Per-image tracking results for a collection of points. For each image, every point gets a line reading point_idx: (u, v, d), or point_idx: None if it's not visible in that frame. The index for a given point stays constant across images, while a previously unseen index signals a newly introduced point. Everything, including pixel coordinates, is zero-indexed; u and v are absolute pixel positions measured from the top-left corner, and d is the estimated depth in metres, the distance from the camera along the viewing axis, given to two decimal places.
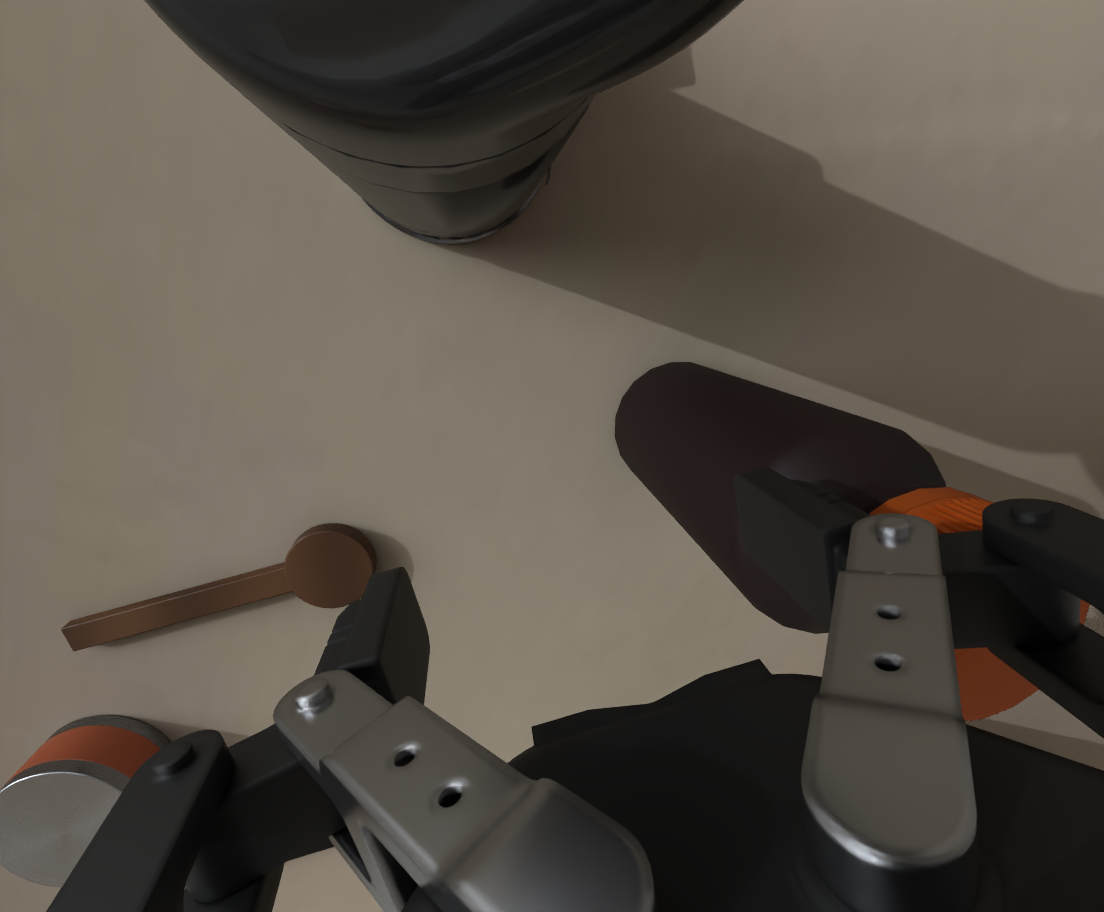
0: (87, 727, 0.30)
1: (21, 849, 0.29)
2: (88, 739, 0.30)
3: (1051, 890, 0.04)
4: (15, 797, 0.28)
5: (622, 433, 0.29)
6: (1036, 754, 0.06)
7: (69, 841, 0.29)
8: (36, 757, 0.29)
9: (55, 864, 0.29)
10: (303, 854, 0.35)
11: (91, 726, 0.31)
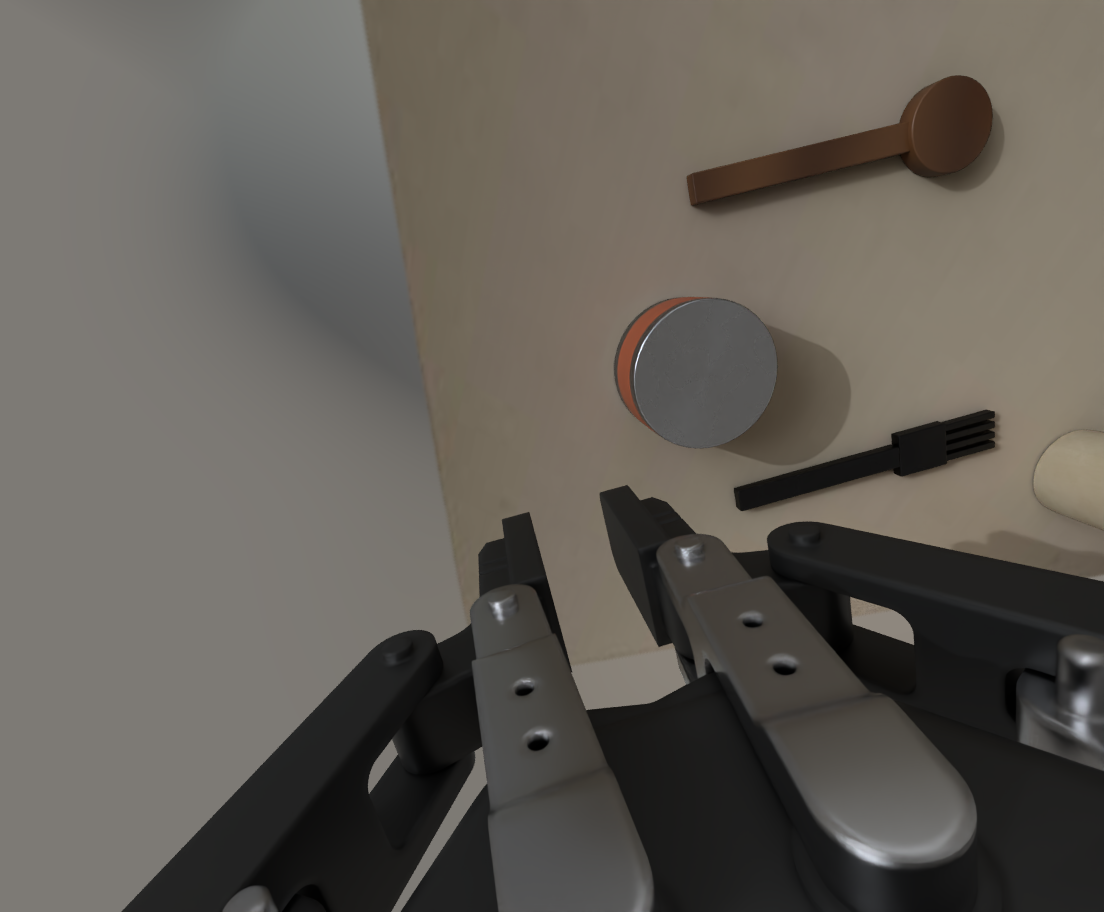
0: None
1: (663, 392, 0.28)
2: None
3: (1051, 890, 0.04)
4: (677, 324, 0.27)
5: None
6: (1036, 754, 0.06)
7: (707, 388, 0.28)
8: (669, 304, 0.28)
9: (688, 416, 0.28)
10: (833, 483, 0.34)
11: None
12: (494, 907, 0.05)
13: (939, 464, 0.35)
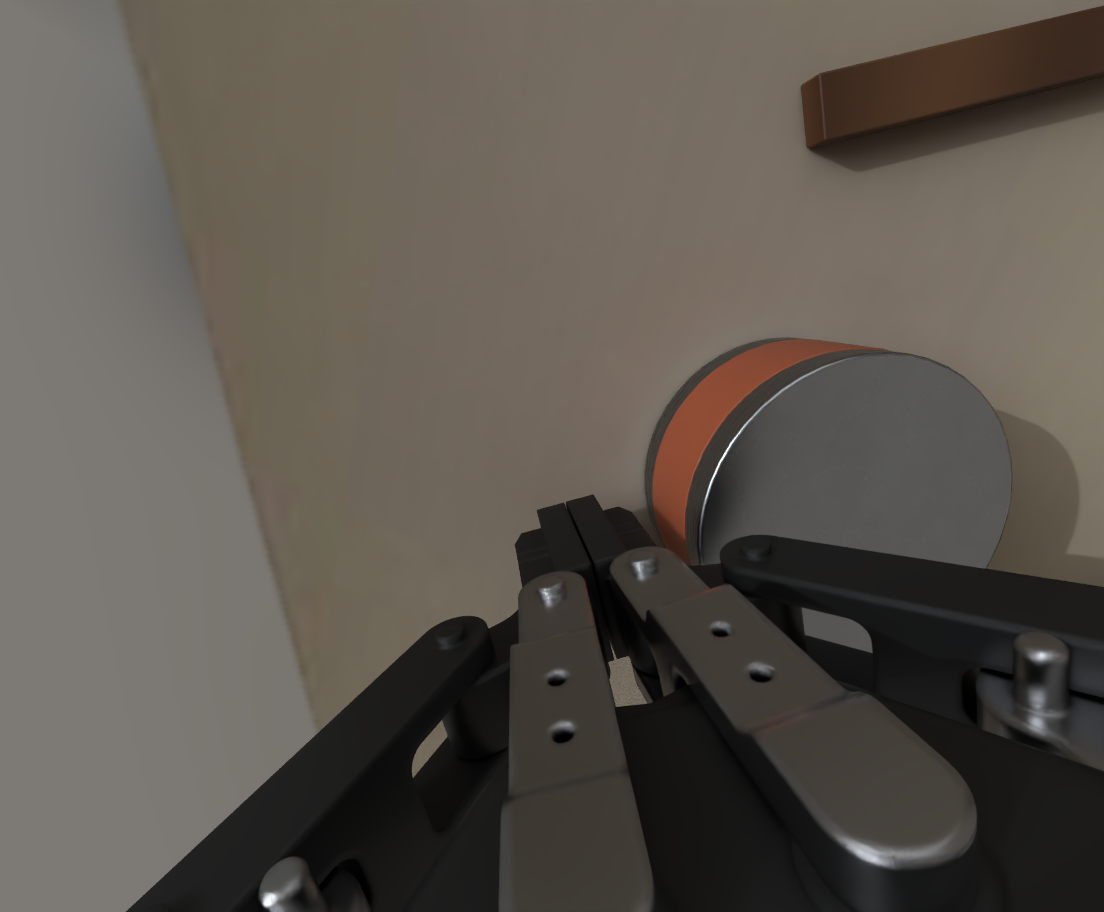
0: (802, 339, 0.14)
1: None
2: None
3: (1051, 889, 0.04)
4: (801, 414, 0.11)
5: None
6: (1036, 754, 0.06)
7: (859, 547, 0.13)
8: (771, 361, 0.13)
9: None
10: None
11: (805, 339, 0.14)
12: (494, 907, 0.05)
13: None
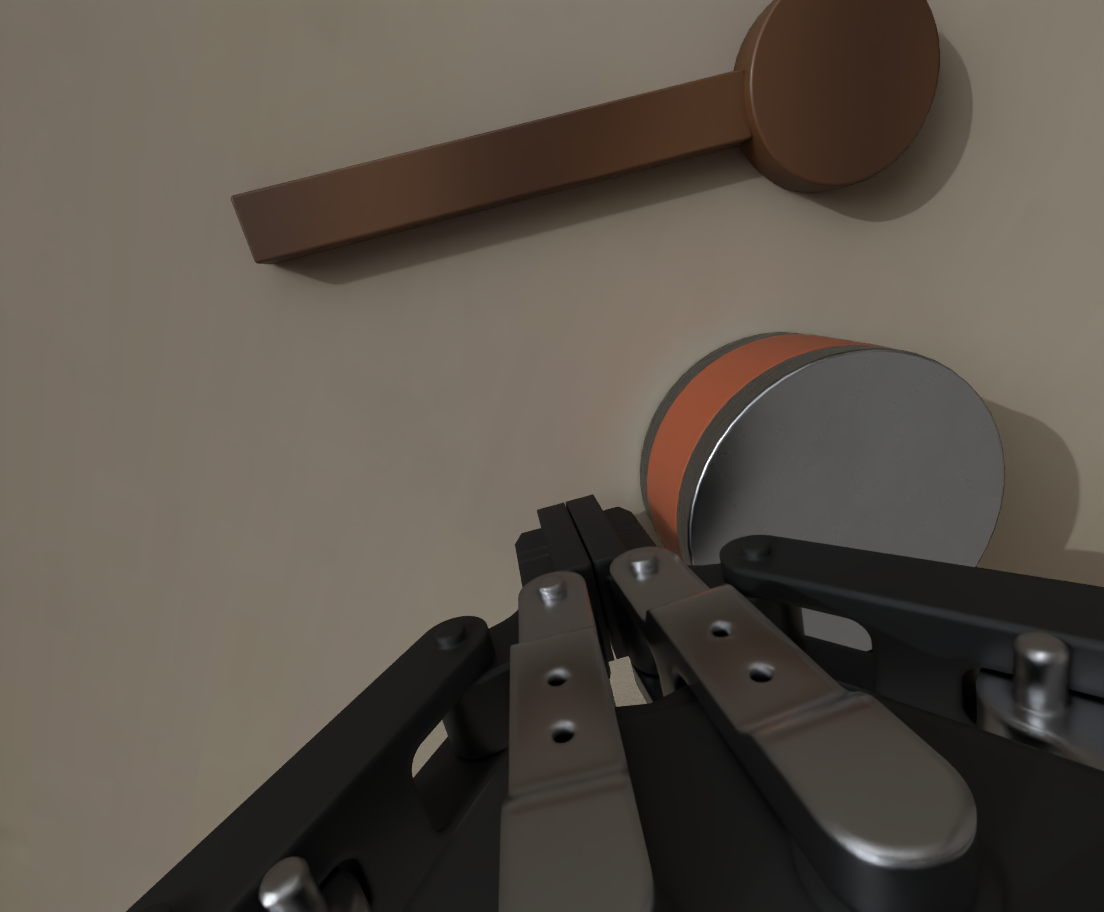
0: (793, 334, 0.14)
1: None
2: (834, 339, 0.14)
3: (1051, 889, 0.04)
4: (787, 413, 0.12)
5: None
6: (1036, 754, 0.06)
7: (850, 542, 0.13)
8: (759, 359, 0.13)
9: None
10: None
11: (796, 334, 0.14)
12: (494, 907, 0.05)
13: None
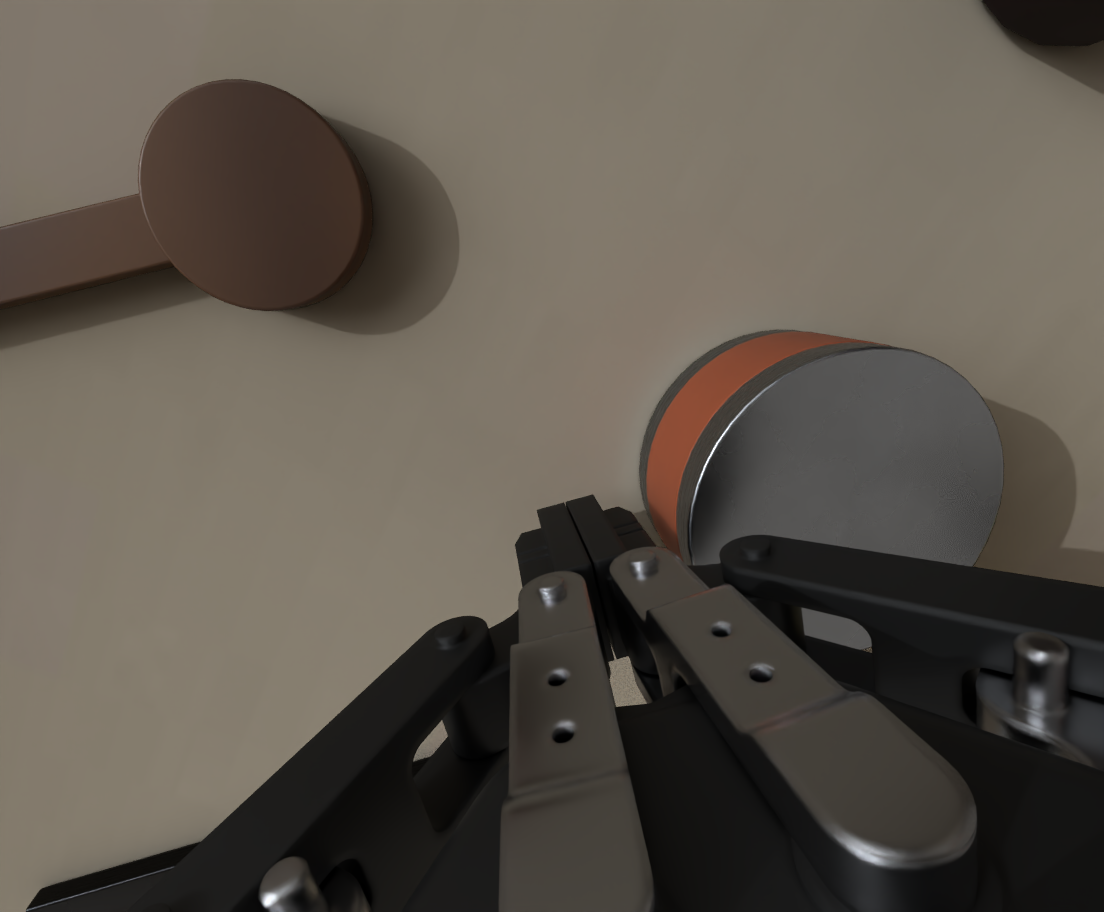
0: (790, 332, 0.14)
1: None
2: (831, 336, 0.13)
3: (1051, 890, 0.04)
4: (786, 412, 0.12)
5: None
6: (1036, 754, 0.06)
7: (850, 540, 0.13)
8: (757, 358, 0.13)
9: None
10: None
11: (794, 331, 0.14)
12: (494, 907, 0.05)
13: None
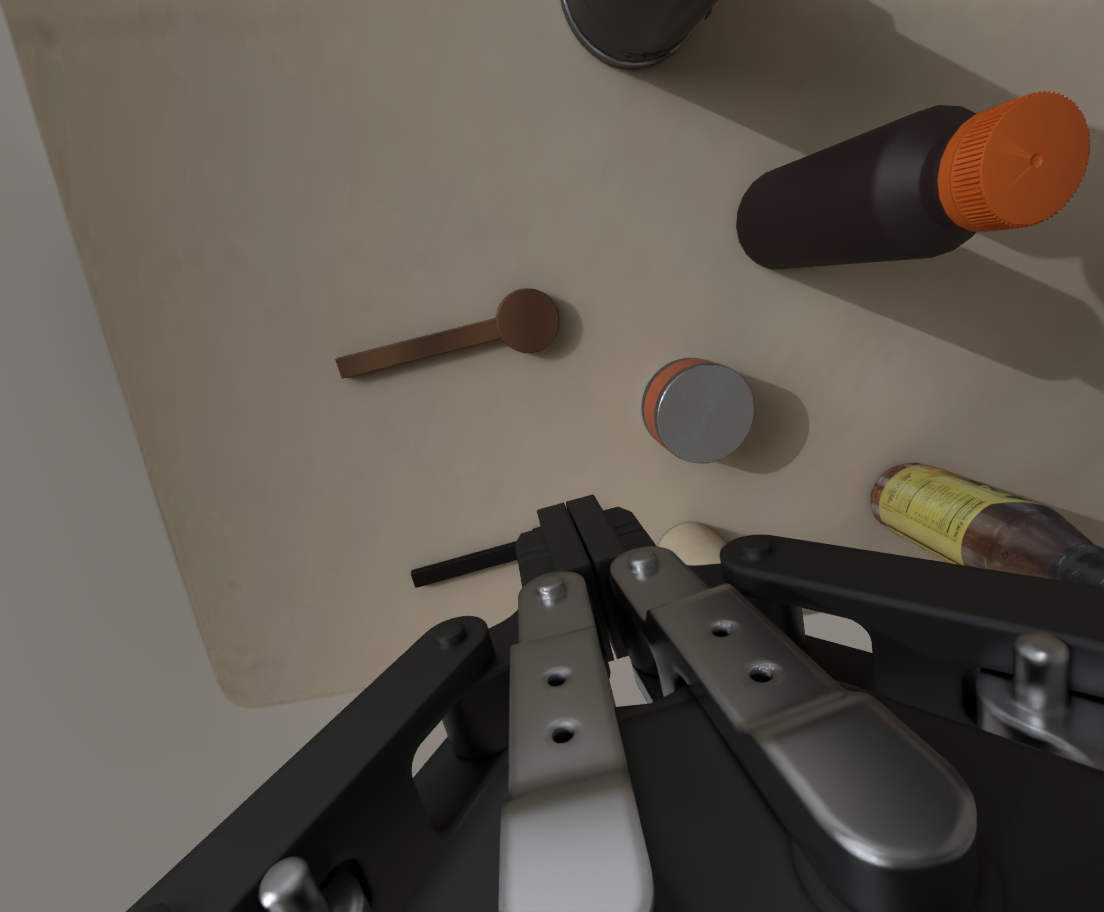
0: (692, 359, 0.43)
1: (677, 427, 0.41)
2: (703, 360, 0.42)
3: (1051, 890, 0.04)
4: (684, 382, 0.40)
5: (747, 215, 0.40)
6: (1036, 754, 0.06)
7: (707, 423, 0.41)
8: (678, 367, 0.41)
9: (694, 442, 0.41)
10: (486, 566, 0.45)
11: (693, 358, 0.43)
12: (494, 907, 0.05)
13: None
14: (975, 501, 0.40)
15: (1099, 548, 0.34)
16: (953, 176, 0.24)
